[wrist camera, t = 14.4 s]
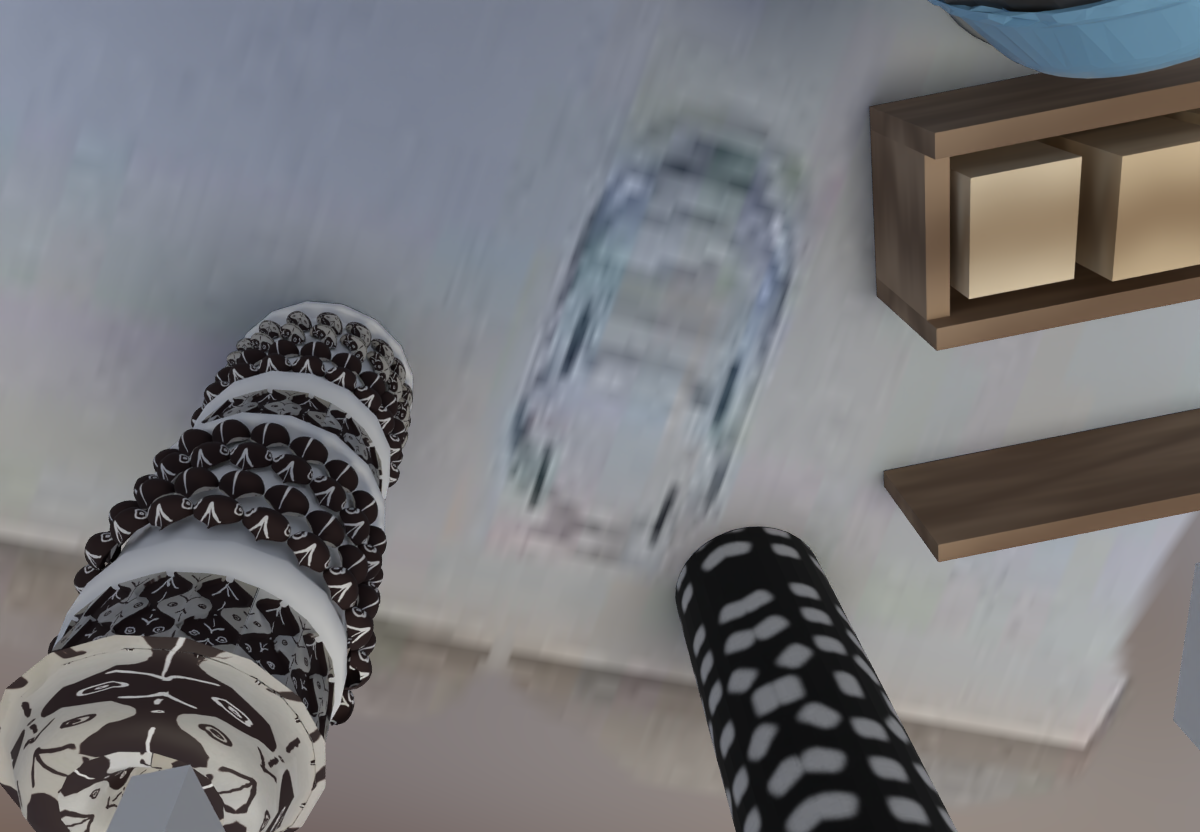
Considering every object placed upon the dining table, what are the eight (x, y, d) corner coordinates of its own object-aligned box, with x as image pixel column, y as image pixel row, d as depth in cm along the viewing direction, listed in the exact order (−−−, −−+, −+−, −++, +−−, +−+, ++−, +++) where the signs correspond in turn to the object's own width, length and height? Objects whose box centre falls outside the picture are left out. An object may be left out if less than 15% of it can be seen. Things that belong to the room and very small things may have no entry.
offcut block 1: (901, 145, 42) (970, 178, 36) (996, 127, 42) (1082, 156, 36) (903, 251, 44) (969, 298, 38) (993, 233, 44) (1073, 278, 38)
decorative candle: (399, 486, 47) (305, 956, 25) (211, 443, 45) (-73, 912, 23) (444, 325, 44) (380, 706, 21) (242, 270, 42) (-60, 627, 19)
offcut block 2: (1017, 122, 42) (1122, 156, 35) (1112, 104, 42) (1236, 133, 35) (1014, 229, 44) (1112, 281, 37) (1104, 211, 44) (1219, 260, 37)
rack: (869, 106, 41) (934, 133, 35) (1266, 28, 41) (1402, 41, 35) (884, 486, 50) (938, 562, 44) (1210, 422, 50) (1310, 488, 44)
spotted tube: (705, 512, 50) (816, 822, 32) (843, 543, 52) (1023, 854, 34) (655, 632, 53) (731, 974, 35) (787, 658, 55) (923, 996, 37)
